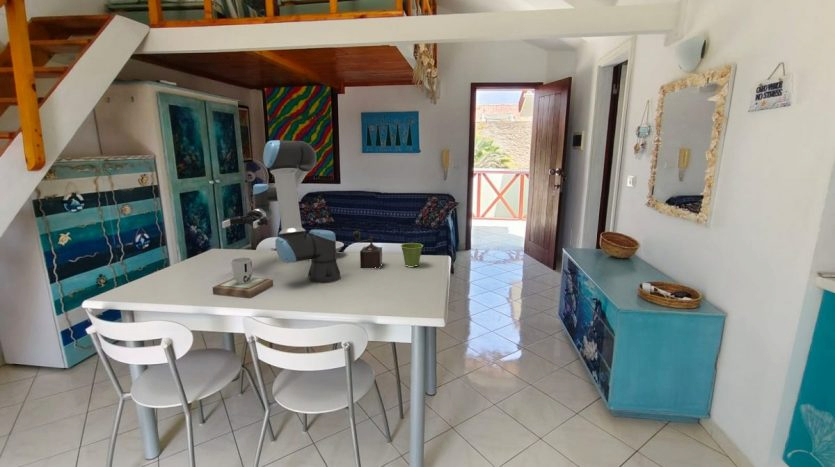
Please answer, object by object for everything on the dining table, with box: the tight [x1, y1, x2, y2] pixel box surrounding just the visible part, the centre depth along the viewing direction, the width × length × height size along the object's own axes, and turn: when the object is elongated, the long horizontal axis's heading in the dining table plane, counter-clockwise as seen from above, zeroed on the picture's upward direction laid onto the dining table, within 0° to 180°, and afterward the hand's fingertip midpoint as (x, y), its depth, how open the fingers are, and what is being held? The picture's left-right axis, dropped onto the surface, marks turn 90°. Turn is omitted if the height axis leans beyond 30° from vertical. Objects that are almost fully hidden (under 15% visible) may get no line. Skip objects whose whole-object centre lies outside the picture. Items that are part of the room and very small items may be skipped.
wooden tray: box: [211, 276, 274, 299], centre depth 171 cm, size 18×16×3 cm
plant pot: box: [400, 242, 424, 266], centre depth 209 cm, size 12×12×11 cm
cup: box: [230, 257, 253, 284], centre depth 170 cm, size 8×8×10 cm
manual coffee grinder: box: [352, 230, 383, 269], centre depth 208 cm, size 16×11×18 cm
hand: (238, 225), depth 176 cm, fingers open, 13 cm apart
